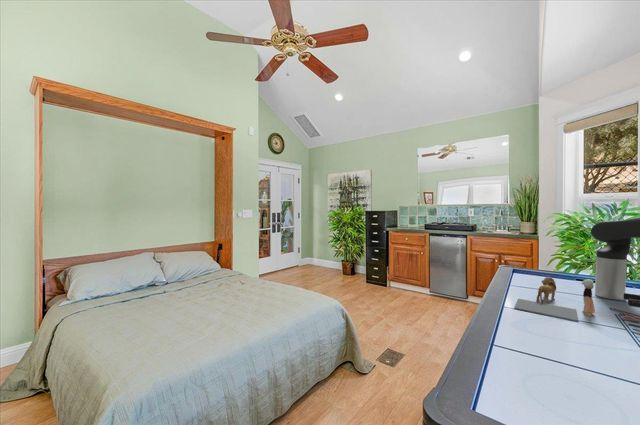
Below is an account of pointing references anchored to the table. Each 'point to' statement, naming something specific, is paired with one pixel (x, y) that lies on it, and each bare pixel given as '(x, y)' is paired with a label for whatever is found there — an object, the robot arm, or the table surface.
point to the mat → (547, 309)
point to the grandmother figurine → (588, 297)
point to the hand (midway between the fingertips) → (625, 299)
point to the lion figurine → (547, 289)
